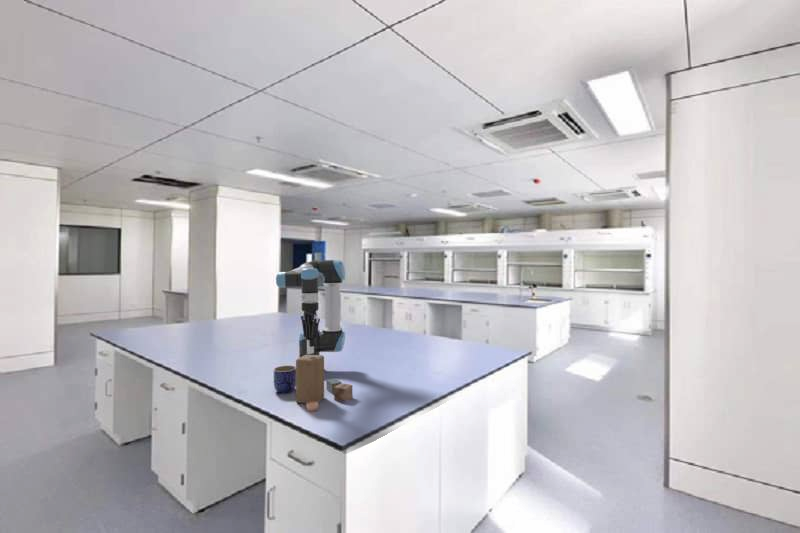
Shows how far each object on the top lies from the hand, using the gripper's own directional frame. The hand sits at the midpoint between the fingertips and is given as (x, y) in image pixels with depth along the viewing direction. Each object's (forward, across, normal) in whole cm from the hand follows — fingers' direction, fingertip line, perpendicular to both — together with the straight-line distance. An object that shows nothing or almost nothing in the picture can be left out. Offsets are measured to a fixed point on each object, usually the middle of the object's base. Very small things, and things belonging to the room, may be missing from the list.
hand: (310, 353), depth 171 cm
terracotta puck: (+22, +10, -5) cm, 25 cm away
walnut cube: (+22, +9, +12) cm, 26 cm away
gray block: (+22, -3, +15) cm, 27 cm away
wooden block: (+22, 0, 0) cm, 22 cm away
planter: (+22, -20, -2) cm, 30 cm away
